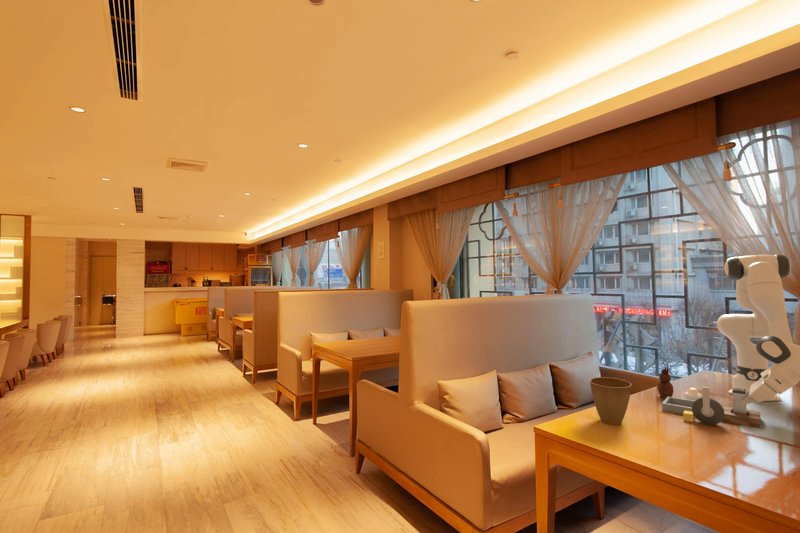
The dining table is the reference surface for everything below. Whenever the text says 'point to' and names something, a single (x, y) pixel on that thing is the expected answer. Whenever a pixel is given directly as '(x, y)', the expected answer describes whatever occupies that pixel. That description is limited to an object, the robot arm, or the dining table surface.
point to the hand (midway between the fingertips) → (742, 401)
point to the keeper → (742, 417)
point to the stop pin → (739, 401)
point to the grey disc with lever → (705, 410)
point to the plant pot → (610, 398)
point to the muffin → (692, 394)
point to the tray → (677, 405)
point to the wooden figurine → (665, 384)
